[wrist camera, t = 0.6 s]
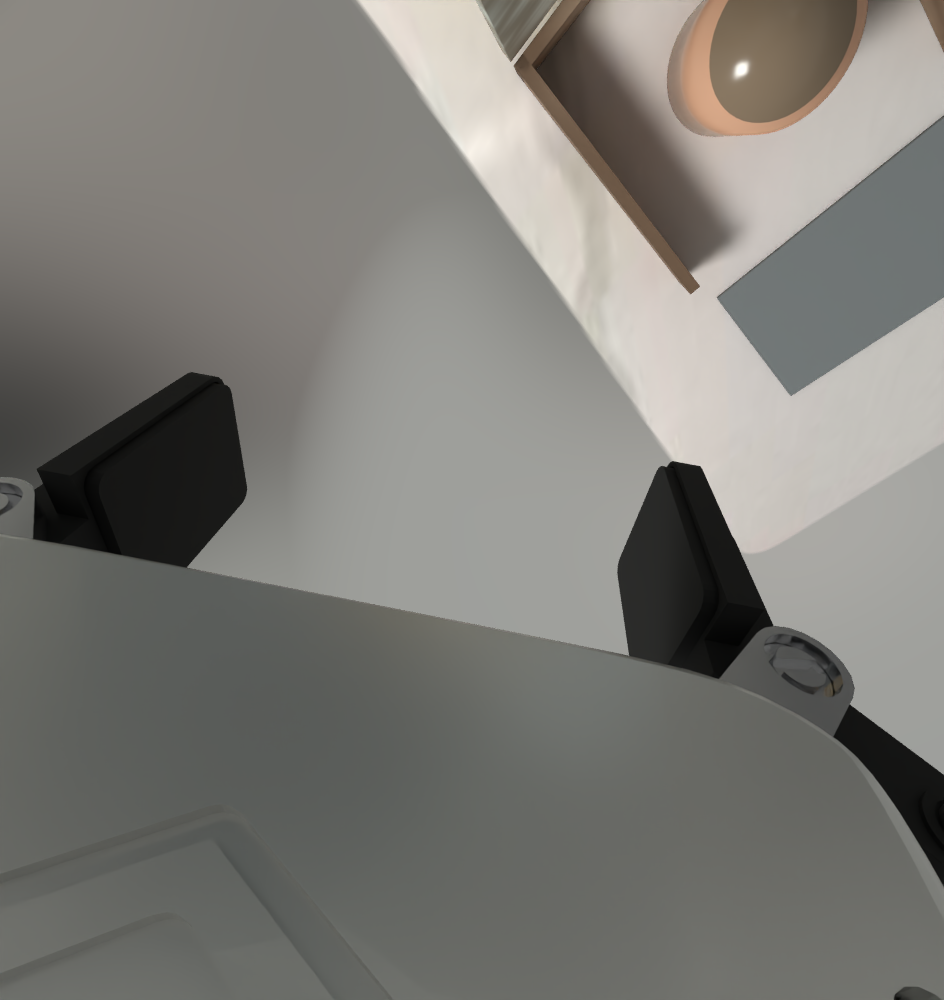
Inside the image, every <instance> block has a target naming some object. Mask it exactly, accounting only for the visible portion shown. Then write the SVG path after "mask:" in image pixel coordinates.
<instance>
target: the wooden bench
mask: <svg viewBox="0 0 944 1000" xmlns="http://www.w3.org/2000/svg"><path fill="white" fill-rule="evenodd" d="M556 1H557V0H476V2H477V4H478V6H479V8H480V10H481V11H482V13H483V15H484V17H485V19H486V21H487V23H488V25H489V27H490V29H491V31H492V33H493V34H494V36H495V38H496V40H497V42H498V44H499V46H500V48H501V50H502V51H503V53H504V54H505V55H506V56H507V58H508V59H509V60H510V62H511V61H512V60H513V58H514V57H515V56H516V54H517V53H518V52H519V50H520V49H521V48H522V46H523V45H524V44H525V42H526V41H527V40H528V38H529V37H530V35H531V34H532V33H533V31H534V30H535V29H536V27H537V26H538V25H539V23H540V22H541V21H542V19H543V18H544V17H545V15H546V14H547V13H548V11H549V10H550V9H551V7H552V6H553V5H554V3H555V2H556ZM589 1H590V0H563V1H562V2H561V3H560V5H559V6H558V7H557V9H556V10H555V11H554V13H553V14H552V15H551V17H550V18H549V19H548V21H547V22H546V23H545V25H544V26H543V27H542V29H541V30H540V31H539V33H538V34H537V35H536V37H535V38H534V39H533V41H532V42H531V43H530V45H529V46H528V47H527V49H526V50H525V51H524V53H523V54H522V55H521V57H520V58H519V59H518V61H517V62H516V63H515V65H514V67H515V70H516V72H517V74H518V75H519V77H520V78H521V79H522V80H523V82H524V83H525V84H526V86H527V87H528V88H529V89H530V91H531V92H532V93H533V95H534V96H535V97H536V98H537V100H538V101H539V102H540V104H541V105H542V106H543V107H544V109H545V110H546V111H547V113H548V114H549V115H550V116H551V118H552V119H553V120H554V122H555V123H556V124H557V125H558V127H559V128H560V129H561V131H562V132H563V133H564V135H565V136H566V137H567V138H568V140H569V141H570V142H571V144H572V145H573V146H574V147H575V149H576V150H577V151H578V153H579V154H580V155H581V156H582V158H583V159H584V160H585V162H586V163H587V164H588V165H589V167H590V168H591V169H592V171H593V172H594V173H595V174H596V176H597V177H598V178H599V180H600V181H601V182H602V183H603V185H604V186H605V187H606V189H607V190H608V191H609V193H610V194H611V195H612V196H613V198H614V199H615V200H616V202H617V203H618V204H619V205H620V207H621V208H622V209H623V211H624V212H625V213H626V214H627V216H628V217H629V218H630V220H631V221H632V222H633V223H634V225H635V226H636V227H637V229H638V230H639V231H640V232H641V234H642V235H643V236H644V238H645V239H646V240H647V241H648V243H649V244H650V245H651V247H652V248H653V249H654V251H655V252H656V253H657V254H658V256H659V257H660V258H661V260H662V261H663V262H664V263H665V265H666V266H667V267H668V269H669V270H670V271H671V272H672V274H673V275H674V276H675V278H676V279H677V280H678V281H679V282H680V283H681V285H682V286H683V287H684V288H685V289H686V290H687V291H688V292H689V293H690V294H692V293H693V292H694V291H695V290H696V289H698V288H699V287H700V286H699V284H698V283H697V282H696V280H695V279H694V278H693V276H692V275H691V274H690V272H689V271H688V270H687V269H686V267H685V266H684V265H683V263H682V262H681V261H680V259H679V258H678V257H677V255H676V254H675V253H674V251H673V250H672V249H671V248H670V246H669V245H668V244H667V242H666V241H665V240H664V238H663V237H662V236H661V234H660V233H659V232H658V230H657V229H656V228H655V226H654V225H653V224H652V223H651V221H650V220H649V219H648V217H647V216H646V215H645V213H644V212H643V211H642V209H641V208H640V207H639V205H638V204H637V203H636V202H635V200H634V199H633V198H632V196H631V195H630V194H629V192H628V191H627V190H626V188H625V187H624V186H623V184H622V183H621V182H620V180H619V179H618V178H617V177H616V175H615V174H614V173H613V171H612V170H611V169H610V167H609V166H608V165H607V163H606V162H605V161H604V159H603V158H602V157H601V155H600V154H599V153H598V152H597V150H596V149H595V148H594V146H593V145H592V144H591V142H590V141H589V140H588V138H587V137H586V136H585V134H584V133H583V132H582V131H581V129H580V128H579V127H578V125H577V124H576V123H575V121H574V120H573V119H572V117H571V116H570V115H569V113H568V112H567V111H566V109H565V108H564V107H563V106H562V104H561V103H560V102H559V100H558V99H557V98H556V96H555V95H554V94H553V92H552V91H551V90H550V88H549V87H548V86H547V85H546V83H545V82H544V81H543V79H542V78H541V77H540V75H539V74H538V73H537V71H536V70H537V68H538V67H539V66H540V65H541V63H542V62H543V61H544V59H545V58H546V57H547V56H548V54H549V53H550V52H551V50H552V49H553V48H554V47H555V45H556V44H557V43H558V41H559V40H560V39H561V37H562V36H563V35H564V34H565V32H566V31H567V30H568V28H569V27H570V26H571V25H572V23H573V22H574V21H575V19H576V18H577V17H578V16H579V14H580V13H581V12H582V10H583V9H584V8H585V7H586V5H587V4H588V3H589ZM920 1H921V4H922V6H923V8H924V10H925V12H926V14H927V17H928V19H929V21H930V23H931V25H932V27H933V30H934V32H935V34H936V36H937V38H938V40H939V43H940V45H941V47H942V49H943V51H944V0H920Z"/></svg>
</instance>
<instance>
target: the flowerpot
mask: <svg viewBox="0 0 944 1000" xmlns="http://www.w3.org/2000/svg"><path fill="white" fill-rule="evenodd" d="M867 10H868V0H704V1H703V2H702V3H701V4H700V5H699V6H698V7H697V8H696V9H695V10H694V11H693V13H692V14H691V15H690V16H689V18H688V19H687V21H686V22H685V24H684V25H683V27H682V29H681V31H680V33H679V35H678V36H677V39H676V41H675V44H674V46H673V49H672V52H671V56H670V60H669V65H668V73H667V89H668V96H669V100H670V104H671V107H672V109H673V112H674V113H675V115H676V117H677V118H678V120H679V121H680V122H681V123H682V124H683V125H684V126H685V127H686V128H687V129H689V130H690V131H692V132H694V133H696V134H699V135H703V136H710V137H719V136H740V135H759V134H767V133H771V132H775V131H779V130H781V129H784V128H786V127H788V126H790V125H792V124H794V123H796V122H798V121H799V120H801V119H802V118H804V117H805V116H807V115H808V114H809V113H811V112H812V111H813V110H814V109H815V108H817V107H818V106H819V105H820V104H821V103H822V102H823V101H824V100H825V99H826V98H827V97H828V95H829V94H830V93H831V92H832V91H833V90H834V88H835V87H836V86H837V84H838V83H839V82H840V80H841V79H842V77H843V76H844V74H845V72H846V71H847V69H848V67H849V66H850V64H851V62H852V60H853V58H854V56H855V53H856V51H857V49H858V46H859V43H860V41H861V38H862V34H863V31H864V27H865V23H866V16H867Z"/></svg>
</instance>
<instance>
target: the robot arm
mask: <svg viewBox="0 0 944 1000" xmlns="http://www.w3.org/2000/svg"><path fill="white" fill-rule="evenodd" d="M37 471H38V473H39V475H40V477H41V480H42V482H43V484H42V485H41V486H40V487H38V488H36V489H35V490H34V488H33V486H32V485H30V484H29V483H27V482H26V481H24V480H20V479H16V478H7V477H0V1000H944V775H943V774H942V773H941V772H939V771H938V770H937V769H935V768H934V767H932V766H931V765H930V764H929V763H927V762H926V761H924V760H923V759H922V758H920V757H919V756H918V755H916V754H915V753H914V752H912V751H911V750H910V749H908V748H907V747H906V746H904V745H903V744H902V743H900V742H899V741H898V740H896V739H895V738H894V737H892V736H891V735H890V734H888V733H887V732H885V731H884V730H883V729H882V728H880V727H879V726H877V725H876V724H875V723H874V722H872V721H871V720H870V719H868V718H867V717H866V716H864V715H863V714H862V713H860V712H859V711H858V710H856V709H855V708H854V707H852V706H851V705H850V703H851V701H852V699H853V694H854V684H853V681H852V677H851V675H850V673H849V672H848V670H847V669H846V667H845V666H844V664H843V663H842V662H841V661H840V659H839V658H838V657H837V656H836V655H835V654H834V653H833V652H832V651H831V650H829V649H828V648H827V647H825V646H824V645H823V644H821V643H820V642H819V641H817V640H815V639H813V638H811V637H810V636H808V635H806V634H804V633H802V632H799V631H796V630H793V629H790V628H786V627H779V626H773V624H772V621H771V619H770V617H769V615H768V613H767V610H766V608H765V606H764V604H763V602H762V599H761V597H760V595H759V593H758V591H757V589H756V586H755V584H754V582H753V580H752V577H751V575H750V573H749V570H748V568H747V566H746V564H745V562H744V560H743V557H742V555H741V553H740V550H739V548H738V546H737V544H736V542H735V540H734V538H733V537H732V535H731V532H730V530H729V528H728V526H727V524H726V521H725V519H724V517H723V515H722V512H721V510H720V508H719V506H718V503H717V501H716V499H715V497H714V494H713V492H712V490H711V488H710V486H709V483H708V481H707V479H706V477H705V474H704V472H703V470H702V468H701V467H700V466H696V465H690V464H685V463H679V462H674V461H672V462H670V463H669V465H668V466H667V467H664V466H661V467H659V468H658V470H657V472H656V474H655V476H654V479H653V482H652V484H651V486H650V488H649V491H648V493H647V495H646V498H645V500H644V502H643V505H642V507H641V510H640V512H639V514H638V517H637V519H636V521H635V524H634V526H633V528H632V531H631V533H630V535H629V538H628V540H627V543H626V545H625V547H624V550H623V552H622V554H621V557H620V560H619V563H618V572H617V573H618V581H619V588H620V594H621V602H622V609H623V615H624V622H625V630H626V637H627V643H628V650H629V656H627V655H623V654H618V653H614V652H609V651H604V650H599V649H594V648H589V647H584V646H579V645H574V644H569V643H564V642H560V641H555V640H549V639H545V638H540V637H535V636H530V635H524V634H520V633H515V632H510V631H505V630H500V629H495V628H490V627H485V626H480V625H475V624H470V623H465V622H460V621H455V620H450V619H445V618H440V617H435V616H430V615H425V614H419V613H415V612H410V611H405V610H400V609H395V608H390V607H385V606H380V605H375V604H369V603H364V602H359V601H354V600H349V599H344V598H339V597H334V596H329V595H324V594H318V593H314V592H308V591H303V590H298V589H293V588H288V587H283V586H278V585H272V584H267V583H262V582H257V581H252V580H247V579H242V578H237V577H232V576H226V575H222V574H217V573H212V572H206V571H201V570H196V569H190V568H187V566H188V565H189V564H190V563H191V562H192V560H193V559H194V558H195V557H196V556H197V555H198V554H199V552H200V551H201V550H202V549H203V548H204V547H205V545H206V544H207V543H208V542H209V541H210V540H211V538H212V537H213V536H214V535H215V534H216V533H217V532H218V530H219V529H220V528H221V527H222V526H223V525H224V524H225V522H226V521H227V520H228V519H229V518H230V517H231V515H232V514H233V513H234V512H235V511H236V510H237V508H238V507H239V506H240V505H241V504H242V503H243V501H244V499H245V496H246V492H247V484H246V478H245V472H244V467H243V460H242V454H241V448H240V442H239V435H238V430H237V423H236V417H235V411H234V405H233V399H232V393H231V390H230V388H229V387H228V386H227V385H224V383H223V381H222V380H221V379H220V378H219V377H215V376H209V375H204V374H198V373H193V372H191V373H188V374H186V375H184V376H183V377H181V378H180V379H178V380H176V381H175V382H173V383H172V384H170V385H169V386H167V387H165V388H164V389H163V390H161V391H159V392H158V393H156V394H154V395H153V396H151V397H150V398H148V399H147V400H145V401H143V402H142V403H140V404H139V405H137V406H135V407H134V408H132V409H131V410H129V411H128V412H126V413H124V414H123V415H122V416H120V417H118V418H116V419H115V420H113V421H112V422H110V423H109V424H107V425H105V426H104V427H102V428H101V429H99V430H98V431H96V432H94V433H93V434H91V435H90V436H88V437H86V438H85V439H83V440H82V441H80V442H79V443H77V444H75V445H74V446H72V447H71V448H69V449H68V450H66V451H64V452H63V453H61V454H60V455H58V456H57V457H55V458H53V459H52V460H50V461H49V462H47V463H45V464H44V465H42V466H41V467H39V468H38V469H37Z"/></svg>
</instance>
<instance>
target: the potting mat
mask: <svg viewBox="0 0 944 1000" xmlns="http://www.w3.org/2000/svg"><path fill="white" fill-rule="evenodd" d="M943 297H944V116H943V117H941V118H940V119H939V120H938V121H936V122H935V123H934V124H933V125H931V126H930V127H929V128H928V129H926V130H925V131H924V132H923V133H921V134H920V135H919V136H918V137H917V138H915V139H914V140H913V141H912V142H910V143H909V144H908V145H907V146H905V147H904V148H903V149H902V150H900V151H899V152H898V153H897V154H895V155H894V156H893V157H892V158H890V159H889V160H888V161H887V162H885V163H884V164H883V165H882V166H880V167H879V168H878V169H877V170H875V171H874V172H873V173H872V174H870V175H869V176H868V177H867V178H865V179H864V180H863V181H862V182H860V183H859V184H858V185H857V186H855V187H854V188H853V189H852V190H850V191H849V192H848V193H847V194H845V195H844V196H843V197H842V198H840V199H839V200H838V201H837V202H835V203H834V204H833V205H832V206H830V207H829V208H828V209H827V210H825V211H824V212H823V213H822V214H820V215H819V216H818V217H817V218H815V219H814V220H813V221H812V222H810V223H809V224H808V225H807V226H805V227H804V228H803V229H802V230H800V231H799V232H798V233H797V234H795V235H794V236H793V237H792V238H790V239H789V240H788V241H787V242H785V243H784V244H783V245H782V246H780V247H779V248H778V249H777V250H775V251H774V252H773V253H772V254H770V255H769V256H768V257H767V258H765V259H764V260H763V261H762V262H760V263H759V264H758V265H757V266H756V267H754V268H753V269H752V270H751V271H749V272H748V273H747V274H746V275H744V276H743V277H742V278H741V279H739V280H738V281H737V282H736V283H734V284H733V285H732V286H731V287H729V288H728V289H727V290H726V291H724V292H723V293H722V294H721V295H719V296H718V297H717V299H718V300H719V301H720V303H721V304H722V305H723V307H724V308H725V309H726V311H727V312H728V313H729V315H730V316H731V317H732V319H733V320H734V321H735V323H736V324H737V325H738V327H739V328H740V329H741V331H742V332H743V333H744V335H745V336H746V337H747V339H748V340H749V341H750V343H751V344H752V345H753V347H754V348H755V349H756V351H757V352H758V353H759V355H760V356H761V357H762V358H763V360H764V361H765V362H766V364H767V365H768V366H769V368H770V369H771V370H772V372H773V373H774V374H775V376H776V377H777V378H778V380H779V381H780V382H781V384H782V385H783V386H784V388H785V389H786V390H787V392H788V393H789V394H790V395H791V396H792V395H793V394H795V393H796V392H798V391H799V390H801V389H802V388H804V387H806V386H807V385H809V384H810V383H812V382H813V381H815V380H816V379H818V378H820V377H821V376H823V375H824V374H826V373H827V372H829V371H830V370H832V369H833V368H835V367H837V366H838V365H840V364H841V363H843V362H844V361H846V360H847V359H849V358H850V357H852V356H854V355H855V354H857V353H858V352H860V351H861V350H863V349H864V348H866V347H868V346H869V345H871V344H872V343H874V342H875V341H877V340H878V339H880V338H881V337H883V336H885V335H886V334H888V333H889V332H891V331H892V330H894V329H895V328H897V327H898V326H900V325H902V324H903V323H905V322H906V321H908V320H909V319H911V318H912V317H914V316H916V315H917V314H919V313H920V312H922V311H923V310H925V309H926V308H928V307H929V306H931V305H933V304H934V303H936V302H937V301H939V300H940V299H942V298H943Z"/></svg>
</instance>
